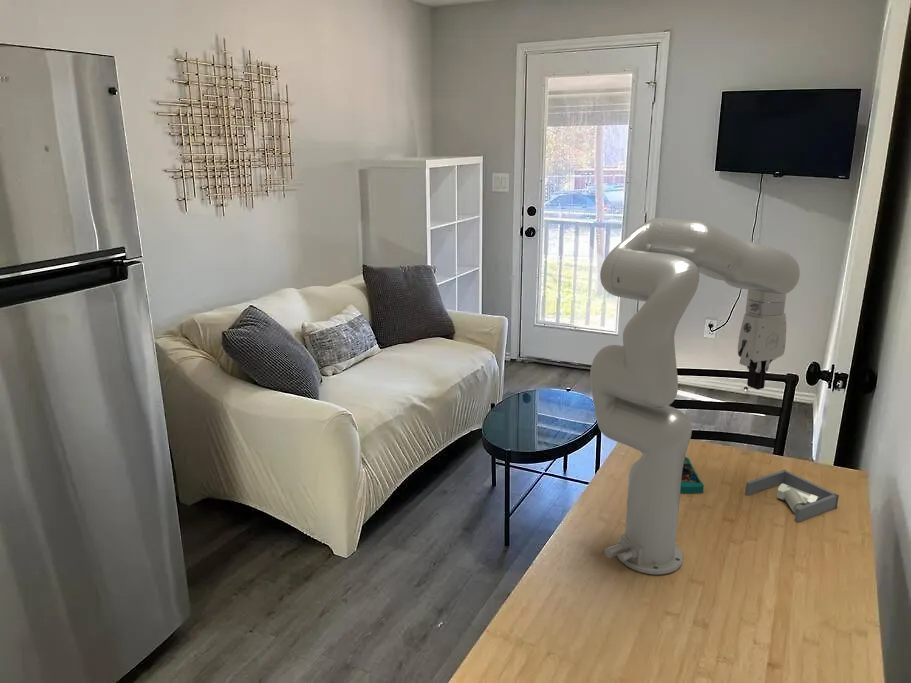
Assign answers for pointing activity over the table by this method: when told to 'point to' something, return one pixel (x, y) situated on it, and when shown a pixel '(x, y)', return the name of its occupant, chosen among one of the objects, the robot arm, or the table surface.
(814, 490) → the gray u-shaped frame
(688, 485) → the digital multimeter
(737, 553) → the table surface
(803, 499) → the pipe fitting
